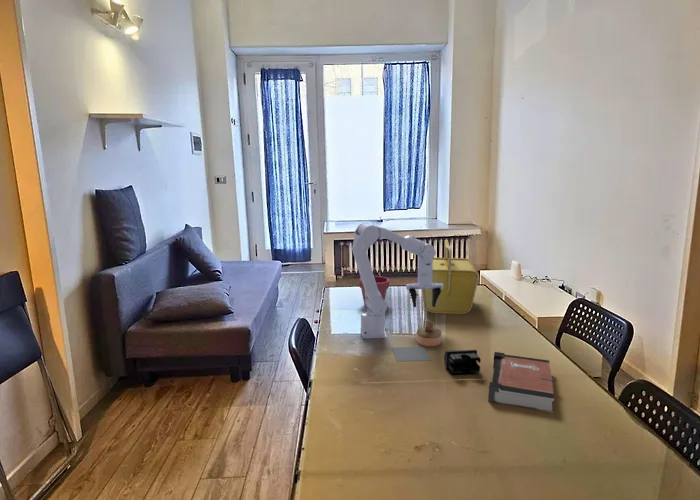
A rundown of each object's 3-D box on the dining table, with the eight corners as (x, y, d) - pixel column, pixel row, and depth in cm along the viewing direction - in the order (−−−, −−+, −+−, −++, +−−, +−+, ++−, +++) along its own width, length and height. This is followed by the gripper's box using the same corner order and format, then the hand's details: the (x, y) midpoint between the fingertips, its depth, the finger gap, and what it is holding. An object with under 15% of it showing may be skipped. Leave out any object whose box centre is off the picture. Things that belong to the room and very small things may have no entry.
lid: (418, 338, 167) (418, 326, 166) (415, 329, 175) (415, 318, 175) (443, 338, 166) (443, 326, 166) (438, 329, 175) (439, 318, 174)
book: (555, 414, 123) (557, 397, 122) (488, 403, 129) (489, 386, 128) (550, 374, 147) (551, 359, 146) (493, 365, 153) (494, 351, 152)
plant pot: (389, 309, 211) (390, 282, 209) (359, 309, 211) (359, 282, 209) (387, 300, 225) (388, 275, 223) (359, 300, 225) (359, 275, 223)
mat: (396, 362, 154) (396, 361, 154) (391, 348, 166) (391, 347, 166) (431, 361, 155) (431, 360, 155) (423, 347, 167) (423, 346, 167)
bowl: (419, 347, 167) (419, 338, 167) (414, 338, 176) (414, 329, 175) (443, 346, 168) (443, 337, 167) (437, 337, 177) (437, 328, 176)
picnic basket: (418, 296, 233) (419, 238, 228) (469, 297, 230) (472, 239, 224) (418, 314, 205) (420, 248, 199) (477, 316, 201) (481, 249, 196)
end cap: (472, 365, 152) (473, 346, 150) (481, 375, 145) (482, 355, 144) (443, 367, 151) (444, 348, 149) (450, 377, 144) (451, 356, 142)
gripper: (408, 276, 176) (408, 309, 179) (445, 275, 177) (444, 309, 179) (405, 271, 183) (404, 304, 185) (441, 271, 184) (439, 303, 186)
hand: (424, 306), depth 183 cm, fingers open, 7 cm apart
